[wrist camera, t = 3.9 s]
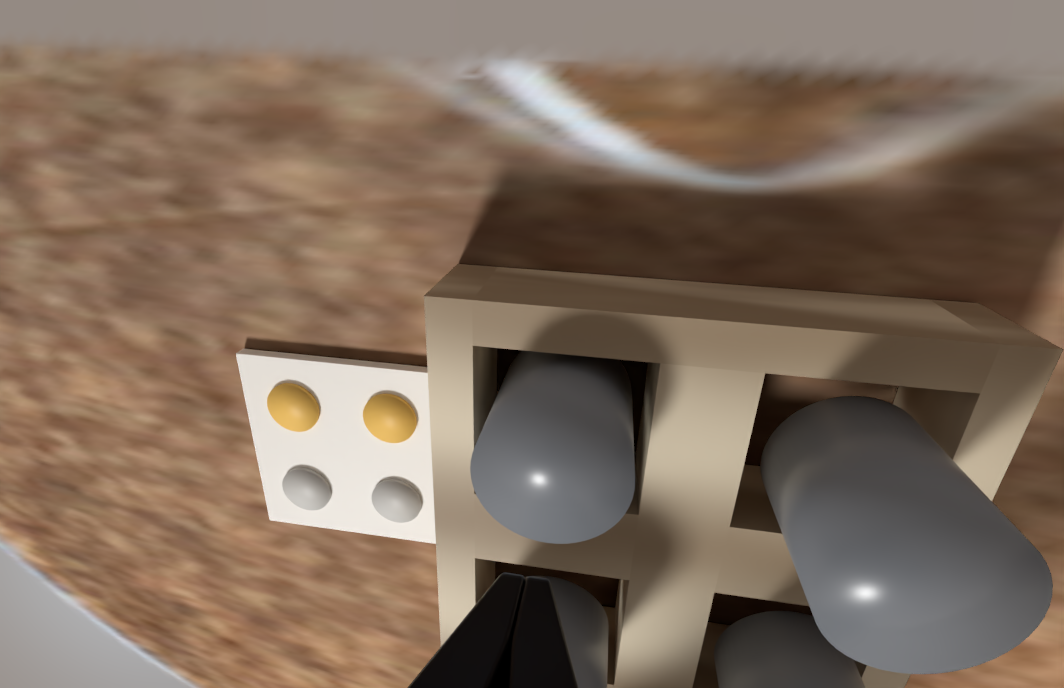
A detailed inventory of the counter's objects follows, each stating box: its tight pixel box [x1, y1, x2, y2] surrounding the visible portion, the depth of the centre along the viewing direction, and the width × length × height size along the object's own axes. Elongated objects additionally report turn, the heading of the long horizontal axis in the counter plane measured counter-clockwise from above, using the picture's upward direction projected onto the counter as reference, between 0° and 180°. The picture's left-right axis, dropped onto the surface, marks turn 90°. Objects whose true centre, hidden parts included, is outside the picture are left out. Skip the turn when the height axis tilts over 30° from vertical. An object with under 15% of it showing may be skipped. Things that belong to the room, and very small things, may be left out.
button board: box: [424, 264, 1063, 688], centre depth 17 cm, size 14×14×3 cm
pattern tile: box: [236, 349, 436, 544], centre depth 19 cm, size 7×7×1 cm
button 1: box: [760, 396, 1053, 674], centre depth 12 cm, size 4×4×4 cm
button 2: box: [470, 350, 635, 544], centre depth 14 cm, size 4×4×4 cm
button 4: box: [525, 576, 609, 688], centre depth 15 cm, size 4×4×4 cm
